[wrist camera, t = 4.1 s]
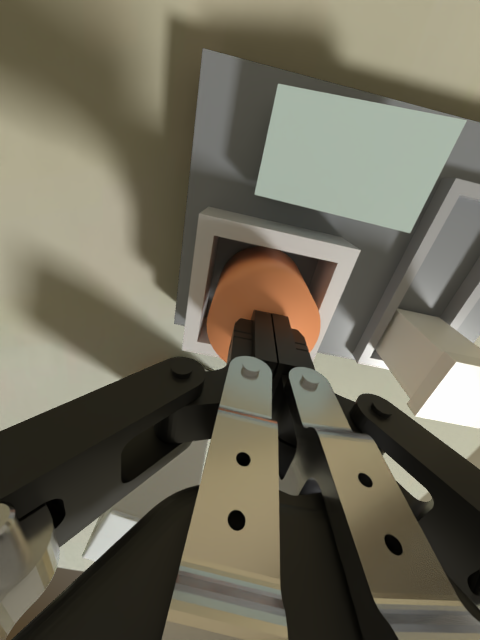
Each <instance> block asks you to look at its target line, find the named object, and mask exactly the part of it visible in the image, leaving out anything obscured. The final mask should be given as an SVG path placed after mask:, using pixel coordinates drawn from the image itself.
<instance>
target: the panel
mask: <svg viewBox="0 0 480 640" xmlns="http://www.w3.org/2000/svg"><path fill="white" fill-rule="evenodd" d="M278 84H283V85H288V86H293V87H298V88H303V89H308V90H313V91H319V92H324V93H329V94H334V95H339V96H344V97H350V98H355V99H360V100H365V101H370V102H375V103H381V104H386V105H391V106H396V107H401V108H406V109H411V110H417V111H422V112H427V113H432V114H437V115H442V116H448V117H453V118H458V119H463V120H467V121H466V123H465V125H464V127H463V129H462V131H461V133H460V135H459V137H458V139H457V141H456V143H455V145H454V147H453V149H452V151H451V153H450V155H449V157H448V159H447V161H446V163H445V165H444V167H443V169H442V171H441V173H440V175H439V177H438V179H437V181H436V183H435V185H434V187H433V189H432V191H431V193H430V195H429V197H428V199H427V201H426V203H425V205H424V207H423V209H422V211H421V213H420V215H419V217H418V219H417V221H416V223H415V225H414V227H413V229H412V231H411V233H407V232H403V231H399V230H395V229H391V228H387V227H383V226H379V225H375V224H371V223H367V222H363V221H359V220H354V219H350V218H346V217H342V216H338V215H334V214H330V213H326V212H322V211H318V210H314V209H310V208H306V207H302V206H298V205H294V204H290V203H286V202H282V201H278V200H274V199H270V198H266V197H262V196H258V195H254V194H255V189H256V185H257V180H258V175H259V170H260V166H261V161H262V156H263V152H264V147H265V142H266V138H267V133H268V128H269V124H270V119H271V114H272V110H273V105H274V100H275V96H276V91H277V86H278ZM256 246H263V247H268V248H272V249H277V250H280V251H282V252H284V253H285V254H287V255H288V256H289V257H290V258H291V259H292V260H293V261H294V263H295V264H296V266H297V267H298V269H299V271H300V273H301V275H302V277H303V279H304V281H305V283H306V285H307V287H308V289H309V291H310V293H311V295H312V297H313V299H314V301H315V303H316V306H317V308H318V311H319V314H320V321H321V327H320V333H319V337H318V340H317V342H316V344H315V346H314V348H313V349H312V351H311V352H310V356H311V359H312V362H313V361H314V358H315V356H316V354H317V352H318V353H323V354H328V355H333V356H338V357H343V358H348V359H353V360H356V362H357V363H359V364H364V365H369V366H374V367H379V368H384V369H389V368H388V367H387V366H386V364H385V363H384V361H383V360H382V358H381V357H380V356H379V354H378V353H377V351H376V350H375V348H376V346H377V344H378V342H379V340H380V339H381V337H382V335H383V333H384V331H385V330H386V328H387V326H388V324H389V322H390V321H391V319H392V317H393V315H394V313H395V311H396V310H397V308H398V309H402V310H407V311H412V312H416V313H421V314H426V315H430V316H435V317H439V318H441V319H442V320H443V321H445V322H446V323H447V324H449V325H450V326H451V327H453V328H454V329H455V330H457V331H458V332H459V333H460V334H462V335H463V336H464V337H466V338H467V339H468V340H470V341H471V342H472V343H474V342H475V340H476V339H477V338H478V337H479V335H480V122H476V121H473V120H469V119H465V118H461V117H458V116H454V115H450V114H447V113H443V112H439V111H435V110H432V109H428V108H424V107H420V106H417V105H413V104H409V103H406V102H402V101H398V100H394V99H391V98H387V97H383V96H379V95H376V94H372V93H368V92H365V91H361V90H357V89H353V88H350V87H346V86H342V85H338V84H335V83H331V82H327V81H324V80H320V79H316V78H312V77H309V76H305V75H301V74H297V73H294V72H290V71H286V70H283V69H279V68H275V67H271V66H268V65H264V64H260V63H256V62H253V61H249V60H245V59H242V58H238V57H234V56H230V55H227V54H223V53H219V52H215V51H212V50H208V49H204V48H203V51H202V60H201V70H200V80H199V89H198V99H197V109H196V118H195V128H194V137H193V147H192V157H191V166H190V176H189V186H188V195H187V205H186V215H185V224H184V234H183V244H182V253H181V263H180V273H179V282H178V292H177V302H176V311H175V321H174V324H178V325H183V326H185V328H184V336H183V344H182V350H183V351H188V352H193V353H199V354H204V355H209V356H214V357H219V355H218V354H217V353H216V352H215V350H214V349H213V347H212V345H211V344H210V341H209V338H208V334H207V317H208V313H209V310H210V306H211V303H212V300H213V297H214V294H215V291H216V288H217V284H218V281H219V278H220V275H221V272H222V270H223V268H224V266H225V265H226V263H227V262H228V261H229V260H230V259H231V258H232V257H233V256H234V255H235V254H237V253H238V252H240V251H242V250H244V249H247V248H251V247H256ZM219 358H220V357H219Z"/></svg>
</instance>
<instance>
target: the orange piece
mask: <svg viewBox="0 0 480 640" xmlns="http://www.w3.org/2000/svg"><path fill="white" fill-rule="evenodd" d="M254 310H259V311H263V312H268V313H273V314H278V315H283V316H288V318H289V322H290V326H291V328H292V329H297V330H298V331H299V332H300V333H301V334H302V335H303V336H304V337H305V341H306V344H307V347H308V350H309V353H310V352H311V351H312V349H313V348H314V346H315V344H316V342H317V340H318V337H319V333H320V327H321V321H320V314H319V311H318V308H317V306H316V303H315V301H314V299H313V297H312V295H311V293H310V291H309V289H308V287H307V285H306V283H305V281H304V279H303V277H302V275H301V273H300V271H299V269H298V267H297V266H296V264H295V263H294V261H293V260H292V259H291V258H290V257H289V256H288V255H287V254H285V253H284V252H282V251H280V250H277V249H272V248H268V247H263V246H256V247H251V248H247V249H244V250H242V251H240V252H238V253H237V254H235V255H234V256H233V257H232V258H231V259H230V260H229V261H228V262H227V263H226V265H225V266H224V268H223V270H222V272H221V275H220V278H219V281H218V284H217V288H216V291H215V294H214V297H213V300H212V303H211V306H210V310H209V313H208V317H207V334H208V338H209V341H210V344H211V345H212V347H213V349H214V350H215V352H216V353H217V354H218V355H219V357H220V358H221V359H223V360H224V361H225V362H226V363H227V357H228V351H229V346H230V342H231V338H232V333H233V329H234V325H235V322H237V321H238V320H239V319H240V318H243V319H248V320H251V317H252V314H253V311H254Z"/></svg>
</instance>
